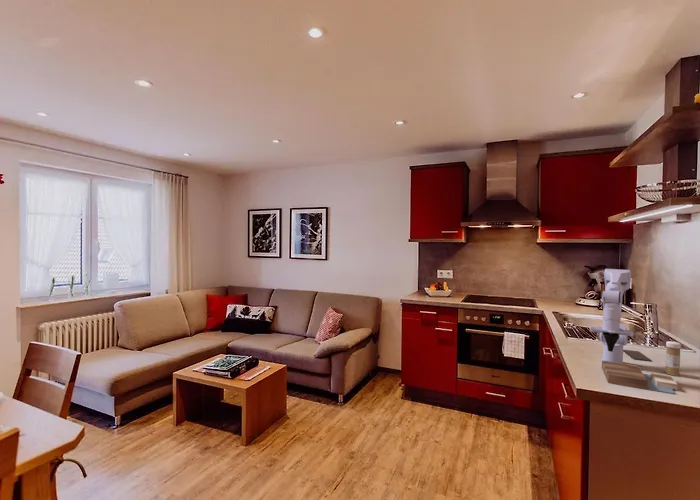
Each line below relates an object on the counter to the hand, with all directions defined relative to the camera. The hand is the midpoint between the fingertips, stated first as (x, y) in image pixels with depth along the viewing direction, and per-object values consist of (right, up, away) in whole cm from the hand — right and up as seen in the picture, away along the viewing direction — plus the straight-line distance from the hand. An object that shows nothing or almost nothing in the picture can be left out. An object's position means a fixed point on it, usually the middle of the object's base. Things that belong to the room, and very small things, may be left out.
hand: (610, 350), depth 148 cm
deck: (+1, -10, -5) cm, 11 cm away
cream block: (+12, -8, -11) cm, 18 cm away
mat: (+10, -10, -10) cm, 17 cm away
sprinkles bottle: (+26, -10, 0) cm, 28 cm away
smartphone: (+30, -10, +23) cm, 39 cm away
